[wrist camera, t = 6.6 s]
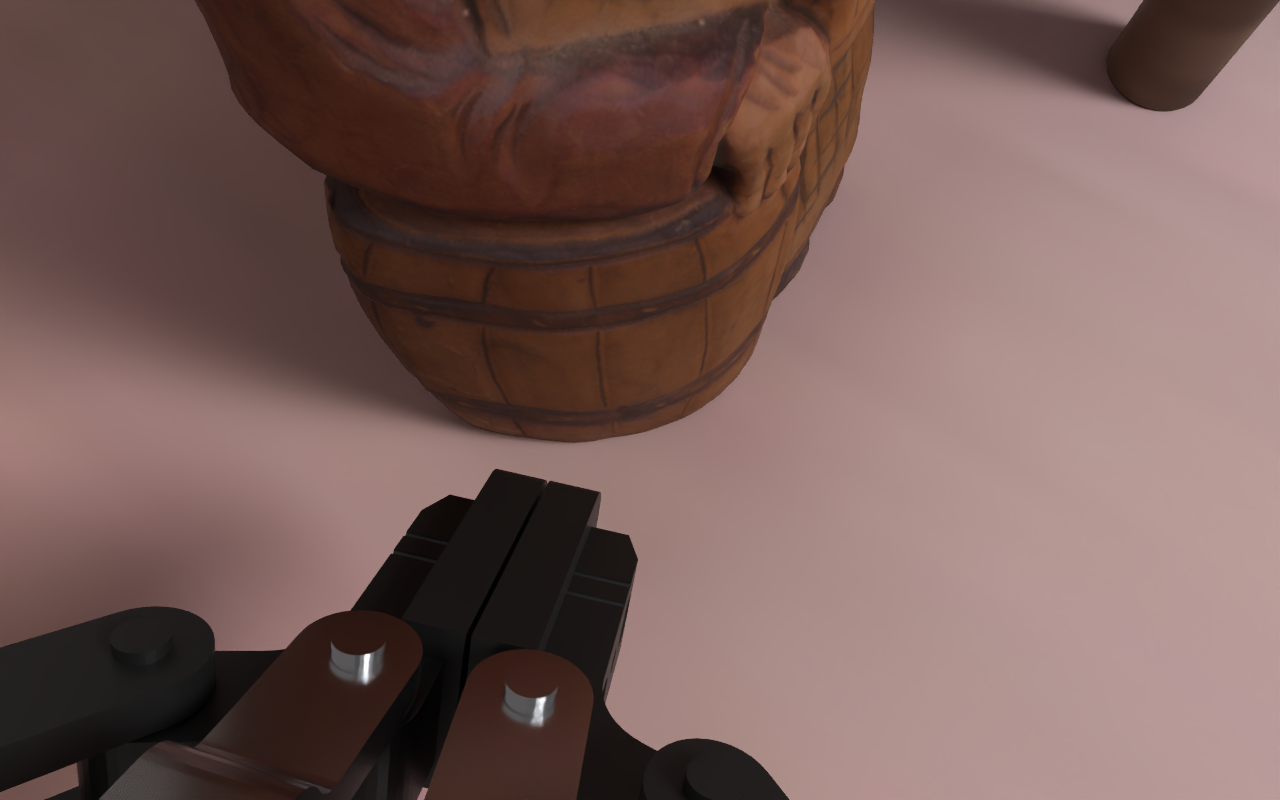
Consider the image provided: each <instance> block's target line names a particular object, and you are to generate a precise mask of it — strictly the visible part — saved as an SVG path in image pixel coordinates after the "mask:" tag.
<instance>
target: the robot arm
mask: <svg viewBox="0 0 1280 800" xmlns="http://www.w3.org/2000/svg"><path fill="white" fill-rule="evenodd" d="M600 501H601V492H597V491H593V490H589V489H584V488H580V487H575V486H571V485H566V484H562V483H558V482H553V481H549V483H548V484H547V481H546V480H543V479H539V478H535V477H530V476H526V475H521V474H517V473H512V472H508V471H504V470H499V469H495V470H494V471H493V472H492V474H491V475H490V477H489V478H488V480H487V482H486V483H485V485H484V486H483V488H482V490H481V491H480V493H479V494H478V496H477V498H476V499H475V500H471V499H467V498H462V497H458V496H454V495H448V496H447V497H445V498H443V499H441V500H439V501H437V502H436V503H434V504H432V505H430V506H428V507H427V508H425V509H423V510H422V511H421V512H420V514H419V515H418V516H417V518H416V519H415V521H414V522H413V523H412V525H411V526H410V528H409V529H408V530H407V533H406V536H403V537H402V539H401V540H400V542H399V543H398V544H397V546H396V547H395V549H394V552H393V554H390V556H389V557H388V559H387V560H386V561H385V563H384V564H383V566H382V567H381V568H380V570H379V571H378V573H377V574H376V575H375V577H374V578H373V580H372V581H371V582H370V584H369V585H368V587H367V588H366V590H365V591H364V592H363V594H362V595H361V597H360V598H359V599H358V601H357V602H356V604H355V605H354V606H353V608H352V609H351V611H344V612H340V613H335V614H332V615H329V616H326V617H323V618H321V619H319V620H317V621H315V622H313V623H312V624H310V625H309V626H307V627H306V628H305V629H304V630H303V631H302V632H301V633H300V634H299V635H298V636H297V637H296V638H295V639H294V640H293V641H292V642H291V644H290V645H289V646H288V647H287V648H286V649H283V650H275V651H215V638H214V634H213V631H212V629H211V627H210V626H209V625H208V624H207V623H206V622H205V621H204V620H203V619H202V618H200V617H199V616H197V615H195V614H193V613H191V612H188V611H185V610H181V609H177V608H171V607H156V606H155V607H141V608H135V609H129V610H125V611H121V612H118V613H114V614H111V615H108V616H104V617H101V618H98V619H94V620H91V621H88V622H84V623H81V624H78V625H74V626H71V627H68V628H64V629H61V630H58V631H54V632H51V633H48V634H44V635H41V636H38V637H34V638H31V639H28V640H25V641H21V642H18V643H15V644H11V645H8V646H5V647H1V648H0V792H1V791H4V790H7V789H9V788H12V787H14V786H17V785H20V784H22V783H25V782H27V781H30V780H33V779H35V778H38V777H40V776H43V775H46V774H48V773H51V772H53V771H56V770H59V769H61V768H64V767H66V766H69V765H71V764H74V763H77V770H78V781H79V786H78V787H75V788H73V789H70V790H68V791H65V792H63V793H60V794H58V795H55V796H53V797H50V798H48V799H45V800H417V798H418V796H419V794H420V792H421V790H422V787H425V788H428V791H427V794H426V796H425V799H424V800H789V798H788V797H787V796H786V795H785V793H784V792H783V791H782V790H781V788H780V787H779V786H778V785H777V783H776V782H775V781H774V780H773V778H772V777H771V776H770V775H769V773H768V772H767V771H766V770H765V769H764V768H763V767H762V766H761V764H760V763H758V762H757V761H756V760H755V759H753V758H752V757H751V756H750V755H748V754H746V753H745V752H743V751H742V750H740V749H738V748H735V747H733V746H731V745H728V744H725V743H722V742H719V741H714V740H710V739H698V738H696V739H685V740H680V741H676V742H673V743H671V744H668V745H666V746H664V747H663V748H661V749H660V750H658V751H656V750H654V749H652V748H651V747H649V746H647V745H645V744H643V743H641V742H640V741H638V740H637V739H635V738H633V737H632V736H631V735H629V734H628V733H627V732H625V731H624V730H623V729H622V728H621V727H620V726H619V725H618V724H617V723H616V722H615V720H614V719H613V718H612V716H611V715H610V713H609V711H608V709H607V707H606V705H605V702H606V698H607V695H608V691H609V688H610V684H611V680H612V676H613V673H614V669H615V666H616V662H617V658H618V655H619V651H620V647H621V642H622V637H623V632H624V627H625V622H626V617H627V612H628V607H629V602H630V597H631V592H632V587H633V582H634V577H635V572H636V567H637V562H638V558H637V556H636V553H635V550H634V548H633V545H632V542H631V540H630V537H629V535H625V534H621V533H616V532H612V531H608V530H603V529H599V528H596V525H597V520H598V514H599V508H600Z"/></svg>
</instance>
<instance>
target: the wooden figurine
mask: <svg viewBox="0 0 1280 800" xmlns="http://www.w3.org/2000/svg"><path fill="white" fill-rule="evenodd" d="M875 1H876V0H195V2H196V3H197V5H198V7H199V9H200V10H201V12H202V14H203V16H204V18H205V20H206V22H207V24H208V26H209V29H210V31H211V33H212V35H213V37H214V39H215V42H216V44H217V46H218V48H219V51H220V53H221V56H222V58H223V60H224V63H225V66H226V69H227V71H228V74H229V79H230V83H231V88H232V91H233V92H234V94H235V96H236V98H237V100H238V102H239V103H240V104H241V106H242V107H243V108H244V110H245V111H246V112H247V113H248V115H249V116H250V117H251V118H252V119H253V120H254V121H255V122H256V123H257V124H258V125H260V126H261V127H262V128H263V129H264V130H265V131H267V132H268V133H269V134H270V135H271V136H272V137H274V138H275V139H276V140H277V141H278V142H279V143H281V144H282V145H283V146H284V147H286V148H287V149H288V150H289V151H291V152H292V153H293V154H295V155H296V156H297V157H298V158H300V159H301V160H302V161H304V162H305V163H306V164H307V165H309V166H310V167H311V168H313V169H315V170H317V171H319V172H321V173H323V174H325V175H327V176H326V179H325V183H324V185H325V195H326V205H327V213H328V219H329V224H330V229H331V233H332V237H333V241H334V244H335V247H336V250H337V251H338V252H339V254H340V255H341V265H342V267H343V269H344V271H345V272H346V274H347V275H348V278H349V281H350V284H351V287H352V289H353V291H354V293H355V295H356V297H357V299H358V301H359V303H360V305H361V307H362V308H363V310H364V312H365V313H366V315H367V317H368V318H369V320H370V321H371V323H372V324H373V326H374V328H375V329H376V331H377V332H378V334H379V335H380V337H381V338H382V339H383V341H384V342H385V343H386V344H387V345H388V347H389V348H390V349H391V351H392V352H393V353H394V354H395V355H396V357H397V358H398V359H399V360H400V362H401V363H402V364H403V366H404V367H405V368H406V369H407V370H408V371H409V372H410V373H411V374H413V375H414V376H415V377H416V378H417V379H418V380H419V381H420V382H421V384H422V385H423V386H424V387H425V388H426V390H428V391H429V392H431V393H432V394H433V395H434V396H435V397H436V398H437V399H438V400H440V401H441V402H442V403H443V404H444V405H445V406H446V407H447V408H448V409H449V410H451V411H452V412H454V413H455V414H456V415H458V416H459V417H461V418H462V419H464V420H465V421H467V422H468V423H470V424H472V425H475V426H477V427H480V428H483V429H487V430H491V431H495V432H500V433H504V434H510V435H516V436H525V437H533V438H540V439H549V440H559V441H567V442H586V441H596V440H600V439H604V438H609V437H616V436H624V435H631V434H637V433H641V432H645V431H649V430H652V429H655V428H658V427H661V426H663V425H666V424H669V423H671V422H674V421H677V420H679V419H682V418H684V417H686V416H688V415H690V414H692V413H693V412H695V411H697V410H698V409H700V408H702V407H703V406H704V405H706V404H707V403H708V402H710V401H711V400H713V399H714V398H715V397H717V396H718V395H719V394H720V393H721V392H722V391H723V390H724V389H725V388H726V387H727V386H728V385H730V384H731V383H732V382H733V381H734V380H735V378H736V377H737V376H738V375H739V373H740V372H741V370H742V369H743V367H744V366H745V364H746V363H747V362H748V360H749V359H750V357H751V355H752V353H753V351H754V348H755V346H756V344H757V341H758V338H759V336H760V333H761V330H762V326H763V324H764V321H765V319H766V316H767V313H768V310H769V307H770V305H771V302H772V300H773V299H774V298H775V297H777V296H778V295H779V294H780V293H781V292H782V291H783V289H784V288H785V287H786V286H787V285H788V283H789V282H790V281H791V280H792V279H793V278H794V277H795V275H796V274H797V273H798V271H799V270H800V268H801V265H802V263H803V261H804V259H805V256H806V254H807V252H808V250H809V238H810V236H811V234H812V232H813V230H814V228H815V227H816V225H817V223H818V221H819V219H820V217H821V215H822V213H823V211H824V209H825V208H826V207H827V206H828V205H829V204H830V203H831V202H832V201H833V199H834V197H835V195H836V192H837V189H838V187H839V184H840V182H841V179H842V176H843V172H844V165H845V163H846V161H847V159H848V157H849V155H850V153H851V151H852V149H853V146H854V143H855V140H856V137H857V132H858V125H859V120H860V108H861V101H862V95H863V90H864V86H865V83H866V79H867V75H868V71H869V66H870V62H871V54H872V44H873V33H874V4H875Z"/></svg>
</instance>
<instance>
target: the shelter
mask: <svg viewBox="0 0 1280 800" xmlns="http://www.w3.org/2000/svg"><path fill="white" fill-rule="evenodd" d="M1279 1H1280V0H1143V2H1142V3H1141V5H1140V6H1139V8H1138V9H1137V11H1136V12H1135V14H1134V15H1133V17H1132V18H1131V20H1130V21H1129V23H1128V24H1127V26H1126V27H1125V29H1124V30H1123V32H1122V33H1121V35H1120V36H1119V38H1118V39H1117V41H1116V42H1115V44H1114V45H1113V47H1112V48H1111V50H1110V52H1109V55H1108V59H1107V68H1108V73H1109V76H1110V78H1111V80H1112V82H1113V84H1114V85H1115V87H1116V88H1117V89H1118V90H1119V91H1120V92H1121V93H1122V94H1123V95H1124V96H1125V97H1126V98H1128V99H1129V100H1131V101H1132V102H1134V103H1136V104H1138V105H1140V106H1143V107H1146V108H1149V109H1153V110H1159V111H1171V110H1177V109H1181V108H1184V107H1186V106H1188V105H1190V104H1191V103H1193V102H1194V101H1195V100H1196V99H1197V98H1198V97H1199V96H1200V95H1201V94H1202V92H1203V91H1204V90H1205V89H1206V88H1207V86H1208V85H1209V84H1210V83H1211V82H1212V80H1213V79H1214V78H1215V77H1216V76H1217V75H1218V73H1219V72H1220V71H1221V70H1222V69H1223V67H1224V66H1225V65H1226V64H1227V63H1228V61H1229V60H1230V59H1231V58H1232V57H1233V56H1234V54H1235V53H1236V52H1237V51H1238V50H1239V48H1240V47H1241V46H1242V45H1243V44H1244V42H1245V41H1246V40H1247V39H1248V38H1249V37H1250V35H1251V34H1252V33H1253V32H1254V31H1255V29H1256V28H1257V27H1258V26H1259V25H1260V23H1261V22H1262V21H1263V20H1264V19H1265V18H1266V16H1267V15H1268V14H1269V13H1270V12H1271V10H1272V9H1273V8H1274V7H1275V6H1276V4H1277V3H1278V2H1279Z"/></svg>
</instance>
